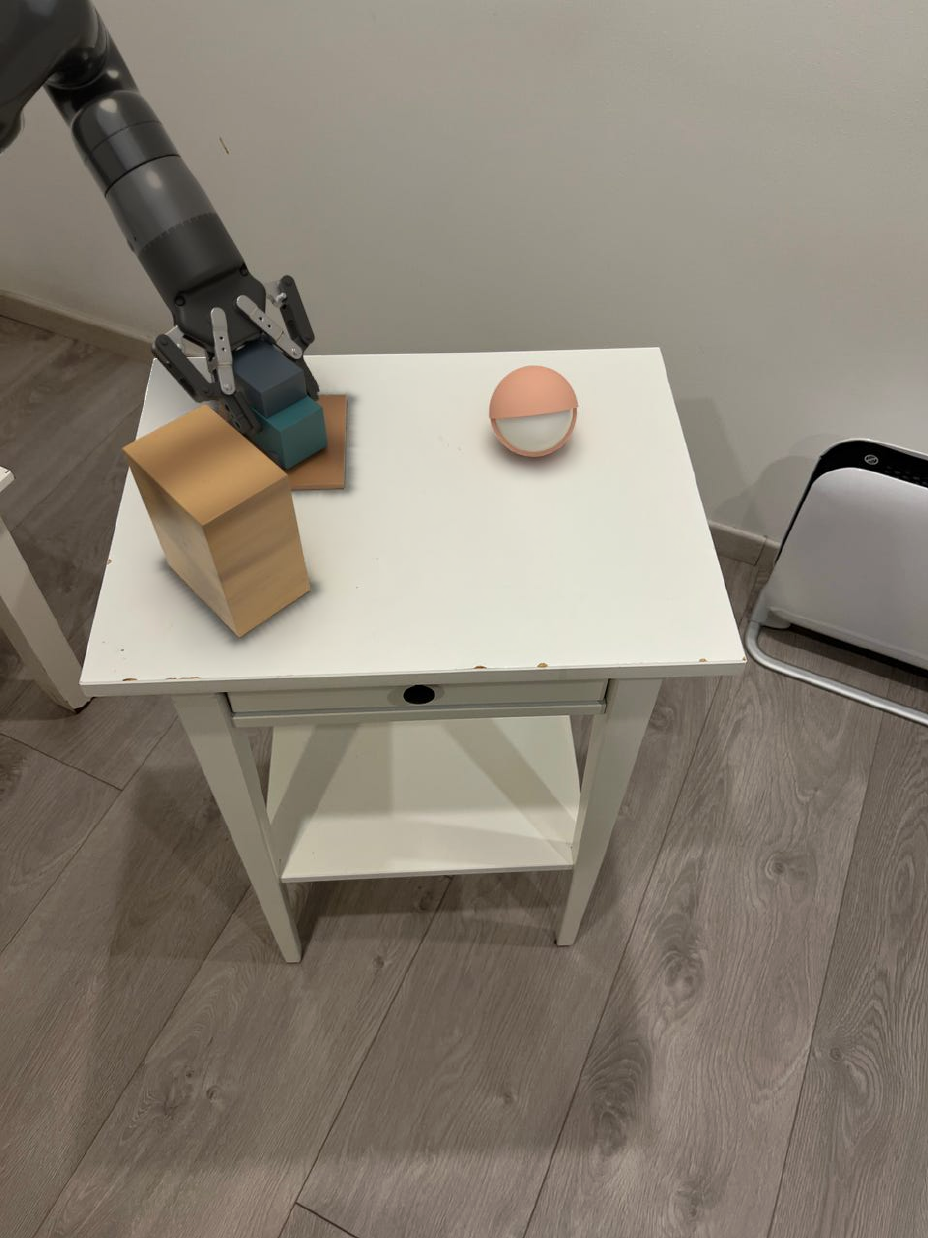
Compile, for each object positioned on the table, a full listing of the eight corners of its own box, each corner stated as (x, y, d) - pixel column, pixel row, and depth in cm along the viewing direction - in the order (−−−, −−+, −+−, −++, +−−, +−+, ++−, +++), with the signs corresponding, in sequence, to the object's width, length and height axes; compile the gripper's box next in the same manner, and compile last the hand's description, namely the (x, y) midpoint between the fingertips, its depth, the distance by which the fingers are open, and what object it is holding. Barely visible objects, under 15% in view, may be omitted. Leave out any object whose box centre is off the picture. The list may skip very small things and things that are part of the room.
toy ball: (496, 478, 78) (501, 409, 72) (479, 420, 82) (482, 351, 76) (581, 467, 79) (594, 399, 73) (560, 411, 83) (570, 342, 77)
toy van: (225, 427, 80) (206, 355, 74) (273, 401, 83) (258, 329, 76) (284, 478, 77) (270, 407, 70) (332, 449, 79) (323, 378, 72)
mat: (344, 488, 77) (343, 483, 76) (207, 492, 76) (205, 487, 76) (346, 399, 84) (346, 394, 83) (221, 401, 83) (220, 397, 83)
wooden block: (311, 589, 70) (288, 474, 60) (239, 638, 67) (201, 525, 57) (239, 522, 74) (205, 402, 64) (168, 565, 71) (121, 447, 61)
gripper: (104, 249, 65) (228, 450, 70) (261, 183, 71) (366, 372, 76) (91, 282, 71) (205, 464, 76) (236, 219, 77) (334, 391, 82)
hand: (285, 417), depth 76 cm, fingers open, 5 cm apart
